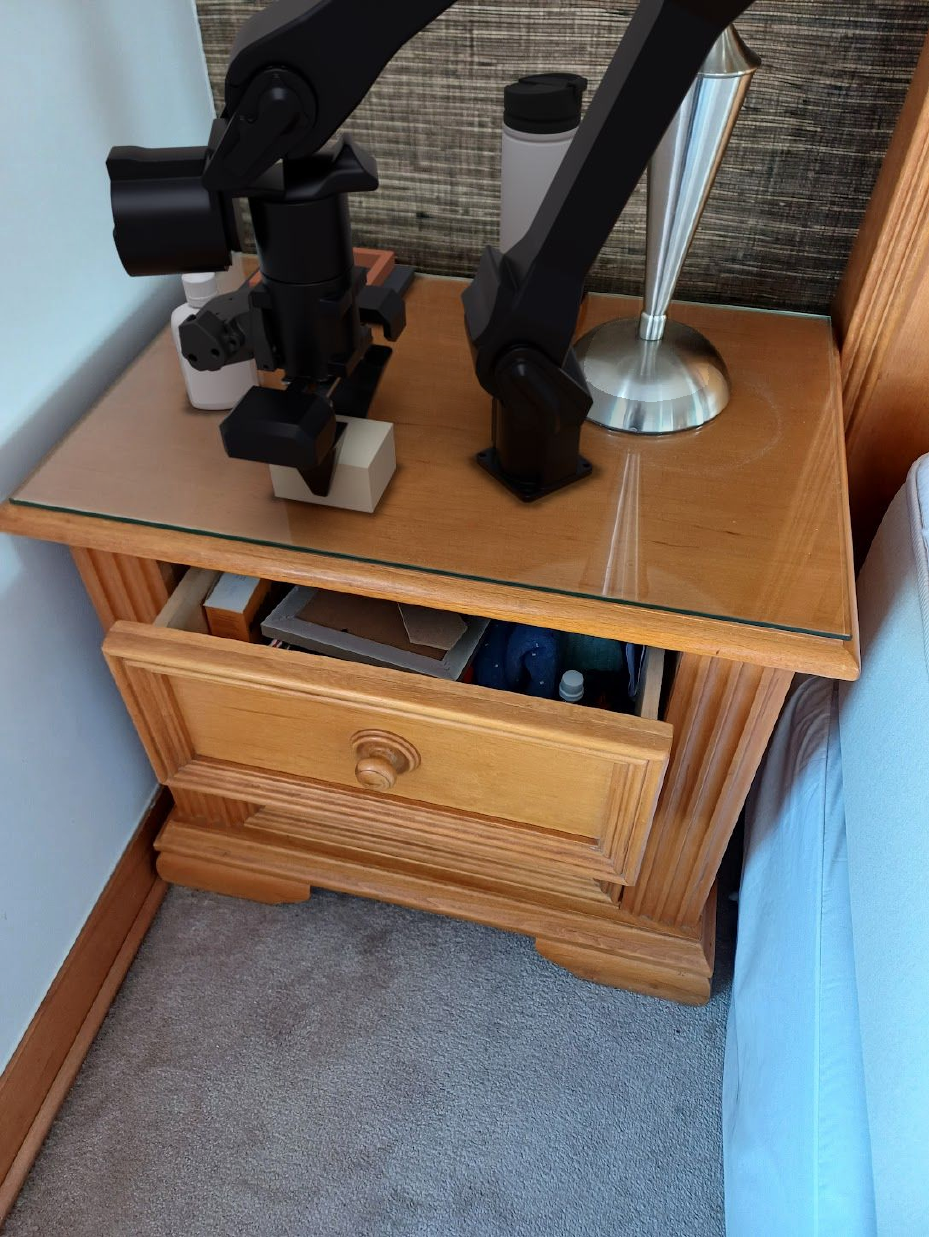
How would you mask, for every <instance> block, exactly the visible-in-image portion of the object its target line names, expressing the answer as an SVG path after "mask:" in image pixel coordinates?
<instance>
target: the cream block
mask: <svg viewBox="0 0 929 1237" xmlns="http://www.w3.org/2000/svg"><path fill="white" fill-rule="evenodd" d="M335 416H336V421H341V422H347V423H348V427H347V431H346V435H345V439H344V442H343V445H342V449H341V453H340V457H339V460H338V464H337V468H336V471H335V475H334V479H333V482H332V485H331V489H330V492H329V494H328V496H327V497H321V496H316V495H314V494H312V492H311V491H310V489H309V488H308V486H307V484H306V483H305V481H304V480H303V478H302V477H301V475H300V474H299V472H298V470H297V469H296V468H290V467H284V466H278V465H272V464H268V467H269V471H270V472H269V473H270V477H271V482H272V486H273V492H274V496H275V497H277V498H281V499H289V500H295V501H298V502H300V501H301V502H305V503H312V504H317V505H321V506H322V505H324V506H329V507H335V508H340V509H346V510H351V511H359V512H364V513H371V514H373V513H374V511H375V509H376V508H377V505H378V503H379V501H380V500H381V497H382V496H383V494H384V492H385V490H386V488H387V486H388V484H389V482H390V481H391V478H392V477H393V475H394V473H395V471H396V469H397V460H396V447H395V434H394V433H395V432H394V423H393V422H387V421H380V420H374V419H369V418H367V419H362V418H355V417H348V416H342V415H335Z"/></svg>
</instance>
